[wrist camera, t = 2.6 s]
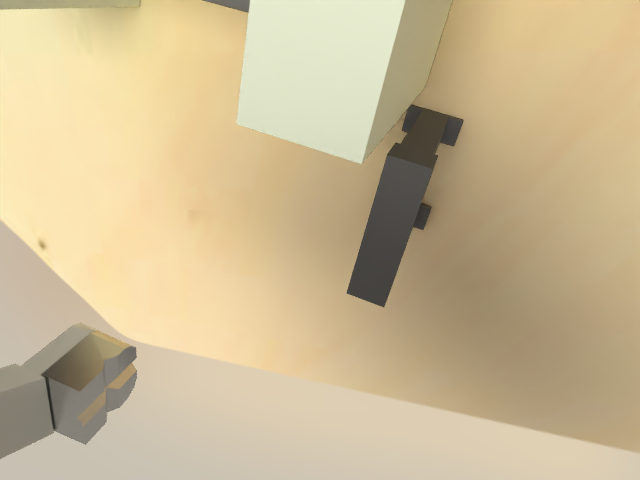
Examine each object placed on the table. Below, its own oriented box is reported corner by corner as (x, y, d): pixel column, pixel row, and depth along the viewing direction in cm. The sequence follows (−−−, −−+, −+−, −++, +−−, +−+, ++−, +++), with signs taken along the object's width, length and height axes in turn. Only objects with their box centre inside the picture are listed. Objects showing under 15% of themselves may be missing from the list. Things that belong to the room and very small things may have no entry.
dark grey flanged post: (463, 119, 25) (448, 174, 17) (424, 226, 29) (396, 311, 21) (410, 104, 26) (372, 150, 18) (377, 211, 29) (334, 288, 21)
